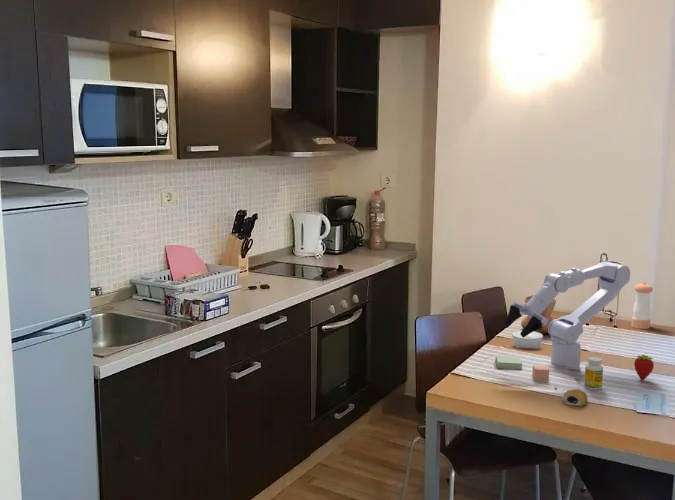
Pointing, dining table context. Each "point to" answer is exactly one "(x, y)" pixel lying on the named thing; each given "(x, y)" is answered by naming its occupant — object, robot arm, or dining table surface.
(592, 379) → the supplement bottle
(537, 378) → the terracotta block
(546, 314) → the ceramic jug
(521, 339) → the ramekin
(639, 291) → the pepper shaker
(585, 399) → the pastry
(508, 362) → the tower top
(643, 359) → the strawberry
